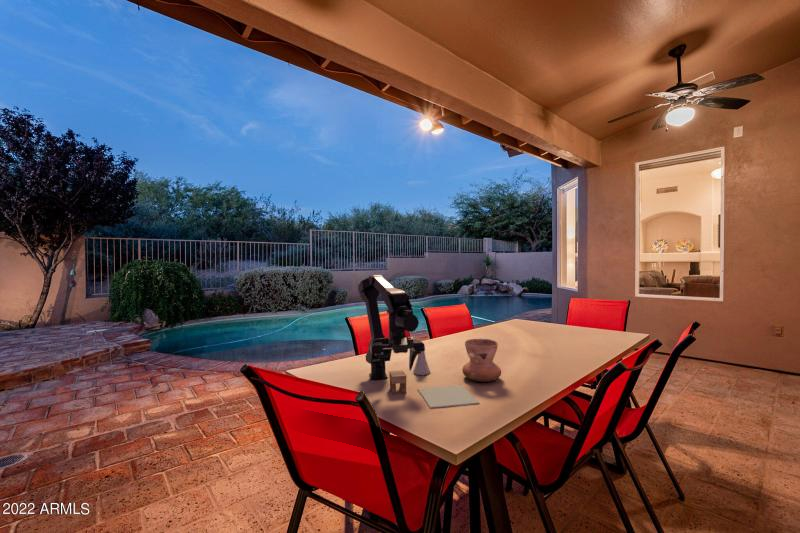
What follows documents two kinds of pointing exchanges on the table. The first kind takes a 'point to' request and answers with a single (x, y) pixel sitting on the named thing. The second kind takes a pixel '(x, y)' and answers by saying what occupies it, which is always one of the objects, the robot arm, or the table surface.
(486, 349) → the ceramic jug
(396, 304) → the robot arm
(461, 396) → the sage mat
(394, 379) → the walnut stool
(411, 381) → the table surface
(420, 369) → the flask
